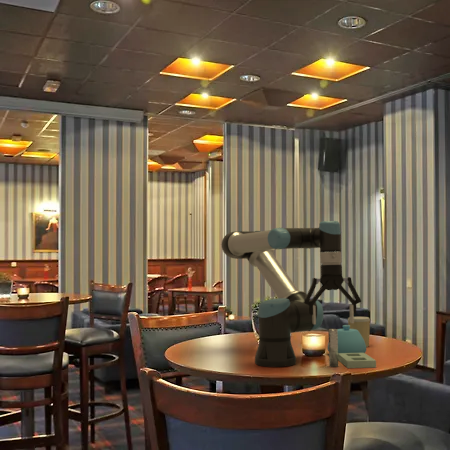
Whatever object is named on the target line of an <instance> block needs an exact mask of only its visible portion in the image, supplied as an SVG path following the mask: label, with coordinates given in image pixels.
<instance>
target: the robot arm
mask: <svg viewBox="0 0 450 450" xmlns="http://www.w3.org/2000/svg"><path fill="white" fill-rule="evenodd" d="M318 224H319V226H318V227H298V228H297V227H295V228H292V227H291V228H290V227H275V228H272V229H269V230H262V231H261V230H254V231H252V230H251V231H247V230H245V231H243V230H242V231H231V232H228V233H227V234H226V235H224V237H223V238H222V240H221V244H220V245H221V250H222V252H223V253H224V255H226V256H227V257H229V258H230V259H235V260H236V259H237V260H239V259H240V260H241V259H244V260H245V259H246V260H247V261H248V263H249V264H250V266H252V267H256V268H257V270H258V271H259V272H260V274H261V275H262V277H263V278H264V280H265V281H266V283H267V284H268V285H269V287H270V288H271V290H272V291H273V293H274V294H275V296H276V297H277V298H270V299H267V300H264V301H262V302H260V303H259V305H258V311H257V312H258V313H257V316H258V341H259V342H258V346H257V349H256V352H255V355H254V364H255V365H257V366H260V367H265V368H266V367H268V368H275V367H276V368H280V367H281V368H282V367H283V368H284V367H290V366H295V365H296V364H297V357H296V353H295V351H294V348H293V344H292V341H291V340H292V339H291V337H292V336H291V335H292V334H291V333H293V334H294V333H301V332H311V331H315V330H317V329H319V328H320V327H321V326H322V323H323V320H324V313H325V312H324V308H323V305H322V303H321V302H320V301H319V299H320V297H321V296H322V294H323V293H324V292H325V291H326V290H327V291H331V290H332V291H337V290H339V291H340V292H341V293H342V294H343V296H344V297H345V298H346V299H347V300H348V301H349V302H350V304H349V305H348V306H349V307H348V308H349V317H350V323H354V317H355V316H354V315H356V314H357V304H359V303H361V302H362V300H361V297H360V295H359V294H358V292H357V290H356V289H355V287H354V285H353V282H352V280H353V279H352V277H351V276H347V277H343V266H342V262H343V260H342V259H343V258H342V231H341V223H340V222H339V221H338V220H337V221H336V220H326V221H320V222H319V223H318ZM287 249H290V250H291V249H319V252H320V254H319V255H320V256H319V257H320V277H319V278H318V277H317V278H316V277H312V279H311V285H310V286H309V289H308V291H307V293H306V292H305V291H302V290H299V288H298V287H297V286H296V284H295V282H294V281H293V280H292V279H291V277H290V276H289V275H288V273H287V272H286V270H285V269H284V267H283V266H282V265H281V264H280V262H279V260H278V259H277V258H276V256H275V250H287ZM319 283H320V284H321V286H320V287H319V290H318V291H317V292H316V293H315V294H314V291H315V289H316V287H317V285H318V284H319ZM343 283H345V284H347V287H348V288H349V291H350V292H351V293H352V296H353V297H354V298H353V297H352V296H351V295H350V293H349V292H348V291H347V290H346V289H345V288H344V287H343ZM313 294H314V296H313ZM312 296H313V297H312ZM311 297H312V298H311Z"/></svg>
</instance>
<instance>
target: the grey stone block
mask: <svg viewBox="0 0 450 450" xmlns="http://www.w3.org/2000/svg"><path fill="white" fill-rule="evenodd" d="M337 329H338V328H337ZM337 329H336V328H329V329H327V330H328V331H327V332H328V342H329V351H328V365H329V367H330V368H338V367H339V360H338V333H337Z"/></svg>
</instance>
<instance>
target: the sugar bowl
mask: <svg viewBox="0 0 450 450" xmlns="http://www.w3.org/2000/svg"><path fill="white" fill-rule="evenodd" d="M349 328H350V325H348V324H344V325H342V328H337V333H338V353H365V354H366V352H367V347H366V344H365V341H364V339H363V337H362V336H361V334H360V333H359V331H358V330H356V329H349ZM327 351H328V352H329V341H328V343H327Z"/></svg>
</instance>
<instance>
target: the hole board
mask: <svg viewBox="0 0 450 450" xmlns="http://www.w3.org/2000/svg"><path fill="white" fill-rule="evenodd" d="M338 362H340V363H341V364H342V365H343V366H344V367H346V368H347V369H366V368H367V369H369V368H370V369H371V368H377V360H376V359H375V358H373V357H372V356H370V355H368V354H367V353H366V352H365V353H338Z"/></svg>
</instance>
